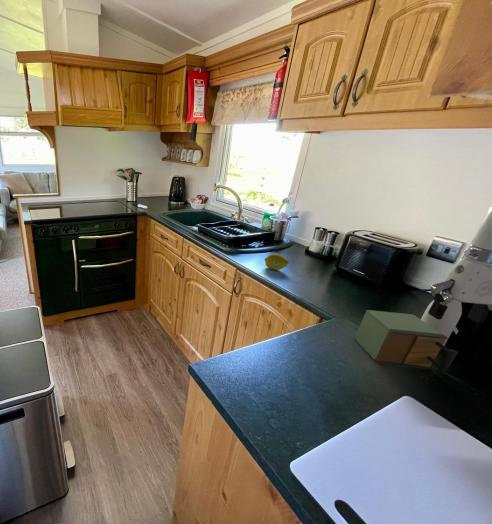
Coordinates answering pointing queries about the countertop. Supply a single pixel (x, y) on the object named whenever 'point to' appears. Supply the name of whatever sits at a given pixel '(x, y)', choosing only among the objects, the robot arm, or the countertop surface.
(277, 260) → the lemon
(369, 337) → the cupboard
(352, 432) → the countertop surface
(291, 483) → the countertop surface
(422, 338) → the sliding door
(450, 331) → the milk bottle
